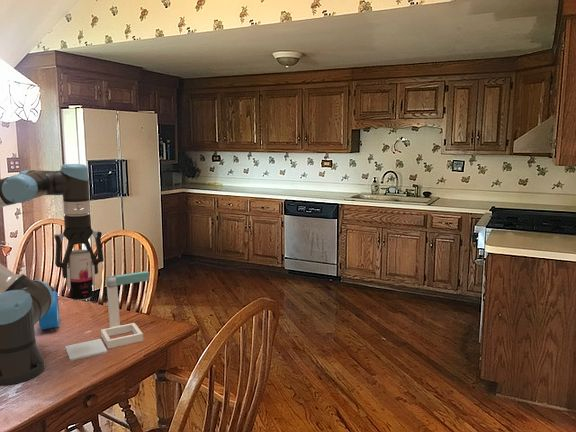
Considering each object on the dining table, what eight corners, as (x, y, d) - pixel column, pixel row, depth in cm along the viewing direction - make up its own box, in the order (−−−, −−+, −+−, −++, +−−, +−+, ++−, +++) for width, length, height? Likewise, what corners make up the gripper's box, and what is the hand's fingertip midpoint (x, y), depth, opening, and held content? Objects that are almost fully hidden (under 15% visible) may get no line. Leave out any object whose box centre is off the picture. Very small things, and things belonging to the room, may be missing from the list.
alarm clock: (58, 332, 171) (54, 292, 169) (39, 335, 169) (35, 294, 166) (60, 320, 183) (56, 281, 181) (41, 322, 181) (37, 284, 178)
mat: (70, 361, 150) (69, 359, 150) (65, 347, 159) (65, 346, 159) (107, 352, 155) (107, 350, 155) (100, 340, 165) (100, 338, 165)
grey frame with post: (108, 348, 158) (104, 302, 156) (97, 329, 174) (94, 287, 171) (143, 340, 164) (140, 296, 161) (130, 323, 179) (127, 282, 177)
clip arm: (150, 280, 177) (149, 272, 177) (107, 287, 170) (106, 279, 170) (147, 278, 180) (147, 270, 180) (105, 284, 173) (105, 276, 173)
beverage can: (90, 300, 152) (87, 254, 150) (68, 301, 151) (65, 254, 149) (94, 293, 159) (92, 249, 156) (73, 294, 158) (71, 249, 155)
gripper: (43, 218, 142) (48, 294, 146) (112, 213, 153) (115, 284, 156) (40, 214, 148) (45, 287, 152) (107, 210, 159) (110, 278, 163)
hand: (81, 285), depth 154 cm, fingers closed on beverage can, 6 cm apart
